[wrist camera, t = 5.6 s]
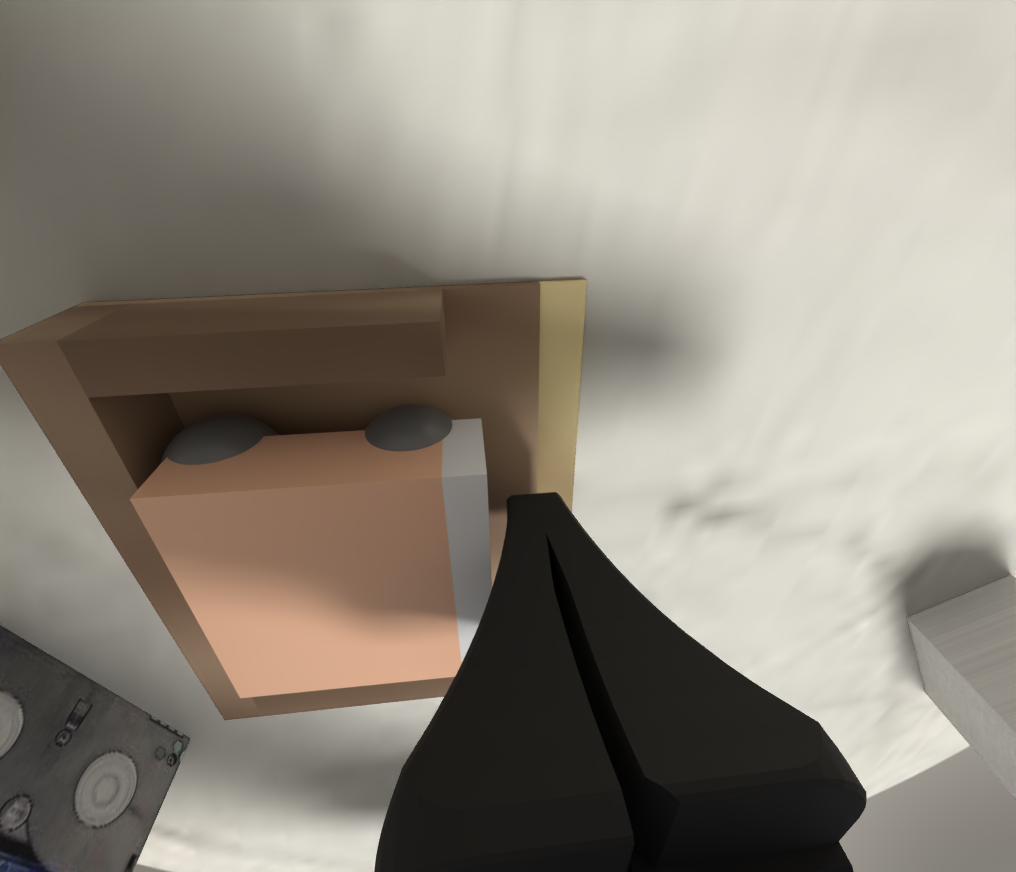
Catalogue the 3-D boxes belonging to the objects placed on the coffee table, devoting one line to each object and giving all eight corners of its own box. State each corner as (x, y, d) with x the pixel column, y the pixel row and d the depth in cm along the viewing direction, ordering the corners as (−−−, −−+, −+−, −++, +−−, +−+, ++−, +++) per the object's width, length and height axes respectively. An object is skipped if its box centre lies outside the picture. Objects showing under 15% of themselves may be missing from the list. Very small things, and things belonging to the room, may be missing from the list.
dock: (563, 616, 16) (578, 681, 14) (253, 647, 15) (225, 720, 13) (585, 279, 10) (616, 311, 8) (82, 302, 9) (-12, 344, 7)
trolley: (488, 586, 14) (496, 681, 12) (265, 605, 14) (223, 709, 11) (478, 381, 11) (486, 455, 8) (176, 397, 10) (86, 482, 8)
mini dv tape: (-64, 626, 14) (-372, 918, 8) (-23, 609, 13) (-313, 897, 8) (157, 748, 18) (40, 991, 13) (191, 736, 18) (85, 978, 13)
